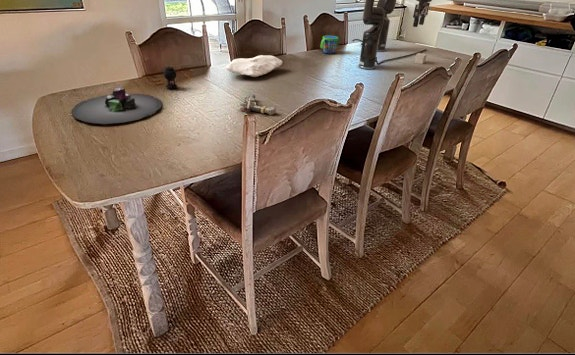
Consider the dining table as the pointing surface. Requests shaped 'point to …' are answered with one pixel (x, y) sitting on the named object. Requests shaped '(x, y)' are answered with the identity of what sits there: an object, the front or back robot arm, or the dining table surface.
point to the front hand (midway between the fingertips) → (418, 25)
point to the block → (420, 58)
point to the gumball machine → (170, 77)
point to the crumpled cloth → (254, 65)
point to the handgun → (255, 106)
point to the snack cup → (329, 44)
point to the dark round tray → (116, 108)
